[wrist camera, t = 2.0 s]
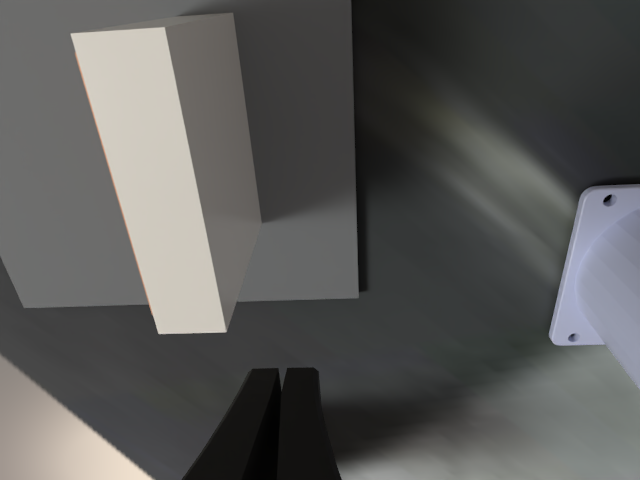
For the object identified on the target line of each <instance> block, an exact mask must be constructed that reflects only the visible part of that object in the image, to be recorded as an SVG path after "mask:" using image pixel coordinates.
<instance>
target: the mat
mask: <svg viewBox="0 0 640 480" xmlns="http://www.w3.org/2000/svg"><path fill="white" fill-rule="evenodd" d="M220 13H233V16H234V23H235V30H236V38H237V45H238V52H239V60H240V67H241V74H242V82H243V89H244V97H245V104H246V111H247V119H248V126H249V133H250V141H251V148H252V155H253V163H254V170H255V177H256V185H257V192H258V199H259V207H260V214H261V221H262V224H261V228H260V231H259V234H258V237H257V240H256V243H255V246H254V249H253V252H252V255H251V258H250V261H249V264H248V268H247V271H246V274H245V277H244V280H243V283H242V286H241V289H240V292H239V295H238V298H237V301H236V302H243V301H277V300H310V299H344V298H359V291H358V251H357V212H356V173H355V133H354V94H353V54H352V15H351V0H0V256H1V259H2V261H3V263H4V265H5V267H6V270H7V272H8V274H9V276H10V278H11V280H12V283H13V285H14V287H15V289H16V291H17V294H18V296H19V298H20V300H21V302H22V304H23V307H24V308H43V307H77V306H110V305H143V304H149V303H148V300H147V296H146V293H145V289H144V286H143V283H142V279H141V276H140V273H139V269H138V266H137V262H136V259H135V256H134V252H133V249H132V245H131V242H130V239H129V235H128V232H127V229H126V225H125V222H124V218H123V215H122V212H121V208H120V205H119V201H118V198H117V195H116V191H115V188H114V184H113V181H112V178H111V174H110V171H109V168H108V164H107V161H106V157H105V154H104V151H103V147H102V144H101V140H100V137H99V134H98V130H97V127H96V124H95V120H94V117H93V113H92V110H91V107H90V103H89V100H88V96H87V93H86V90H85V86H84V83H83V80H82V76H81V73H80V69H79V66H78V63H77V59H76V56H75V52H76V51H75V48H74V44H73V41H72V37H71V34H70V33H76V32H83V31H89V30H95V29H101V28H107V27H113V26H120V25H126V24H132V23H138V22H144V21H151V20H157V19H163V18H169V17H175V16H190V15H205V14H220Z"/></svg>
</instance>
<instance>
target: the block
mask: <svg viewBox="0 0 640 480" xmlns="http://www.w3.org/2000/svg"><path fill="white" fill-rule="evenodd" d="M70 34H71V37H72V41H73V44H74V48H75V51H76V52H75V56H76V59H77V63H78V66H79V69H80V73H81V76H82V80H83V83H84V86H85V90H86V93H87V96H88V100H89V103H90V107H91V110H92V113H93V117H94V120H95V124H96V127H97V130H98V134H99V137H100V140H101V144H102V147H103V151H104V154H105V157H106V161H107V164H108V168H109V171H110V174H111V178H112V181H113V184H114V188H115V191H116V195H117V198H118V201H119V205H120V208H121V212H122V215H123V218H124V222H125V225H126V229H127V232H128V235H129V239H130V242H131V245H132V249H133V252H134V256H135V259H136V262H137V266H138V269H139V273H140V276H141V279H142V283H143V286H144V289H145V293H146V296H147V300H148V303H149V306H150V310H151V313H152V315H153V316H154V320H155V323H156V327H157V330H158V333H159V334H178V333H216V332H227V329H228V326H229V323H230V320H231V317H232V314H233V311H234V308H235V304H236V301H237V298H238V295H239V292H240V289H241V286H242V283H243V280H244V277H245V274H246V271H247V268H248V264H249V261H250V258H251V255H252V252H253V249H254V246H255V243H256V240H257V237H258V234H259V231H260V228H261V224H262V221H261V214H260V207H259V199H258V192H257V185H256V177H255V170H254V163H253V155H252V148H251V141H250V133H249V126H248V119H247V111H246V104H245V97H244V89H243V82H242V74H241V67H240V60H239V52H238V45H237V38H236V30H235V23H234V16H233V13H220V14H205V15H190V16H175V17H169V18H163V19H157V20H151V21H144V22H138V23H132V24H126V25H120V26H113V27H107V28H101V29H95V30H89V31H83V32H76V33H70Z"/></svg>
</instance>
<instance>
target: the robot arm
mask: <svg viewBox="0 0 640 480" xmlns="http://www.w3.org/2000/svg"><path fill="white" fill-rule="evenodd" d="M611 194H612V197H611V199H610V200H609V201H607V202H604V203H603V200H604V198H605V197H606V196H608V195H611ZM574 333H575V334H574ZM571 334H574V335H573V336H570V335H571ZM549 337H550V339H551V340H552V342H553V343H554V344H556V345H602V344H606V346H607V347H608V348H609V350H610V351H611V352H612V354H613V355H614V356H615V358H616V359H617V360H618V362H619V363H620V364H621V366H622V367H623V368H624V370H625V371H626V372H627V374H628V375H629V376H630V377H631V379H632V380H633V381H634V383H635V384H636V385H637V387H638V388H639V389H640V184H629V185H606V186H593V187H590V188H588V189H586V190H585V191H584V192H583V193H582V194H581V197H580V200H579V204H578V209H577V213H576V217H575V222H574V226H573V231H572V235H571V239H570V244H569V248H568V252H567V257H566V261H565V266H564V270H563V274H562V279H561V283H560V288H559V292H558V296H557V301H556V305H555V310H554V314H553V318H552V323H551V327H550V332H549ZM182 480H342V479H341V477H340V474H339V471H338V468H337V465H336V462H335V459H334V455H333V452H332V448H331V445H330V441H329V438H328V434H327V431H326V427H325V423H324V419H323V414H322V407H321V395H320V383H319V371H317V370H316V369H315V368H287V372H286V376H285V379H284V384H283V389H282V392H281V384H280V377H279V370H278V368H267V369H252V370H251V371H250V372H248V374H247V376H246V378H245V380H244V382H243V384H242V386H241V388H240V390H239V392H238V393H237V395H236V397H235V399H234V400H233V402H232V404H231V406H230V407H229V409H228V411H227V412H226V414H225V416H224V417H223V419H222V421H221V422H220V424H219V425H218V427H217V428H216V430H215V432H214V433H213V435H212V436H211V438H210V439H209V441H208V443H207V444H206V446H205V447H204V449H203V450H202V452H201V453H200V455H199V456H198V458H197V459H196V460H195V462H194V463H193V465H192V466H191V467H190V469H189V470H188V472H187V473H186V474H185V476H184V477H183V479H182Z"/></svg>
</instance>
